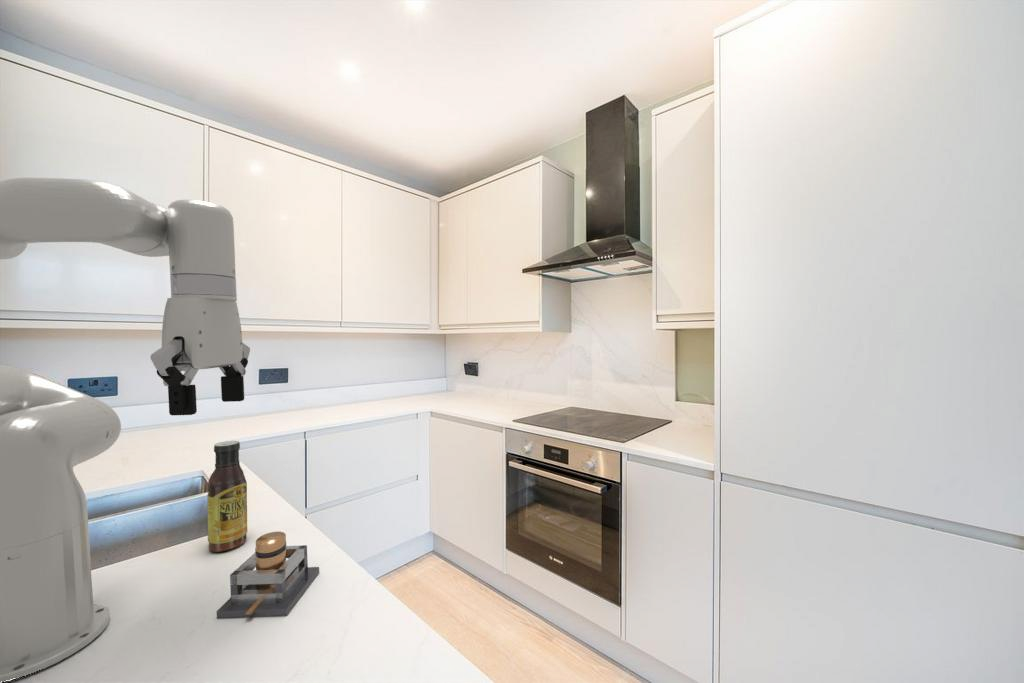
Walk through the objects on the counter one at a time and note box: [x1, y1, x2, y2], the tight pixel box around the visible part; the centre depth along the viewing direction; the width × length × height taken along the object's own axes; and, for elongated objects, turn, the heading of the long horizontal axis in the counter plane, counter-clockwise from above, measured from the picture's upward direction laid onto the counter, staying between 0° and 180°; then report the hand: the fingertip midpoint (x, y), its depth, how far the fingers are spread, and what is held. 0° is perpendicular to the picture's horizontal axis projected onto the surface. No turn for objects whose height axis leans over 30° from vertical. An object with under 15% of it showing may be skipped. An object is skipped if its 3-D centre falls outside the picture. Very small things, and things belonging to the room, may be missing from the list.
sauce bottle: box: [206, 440, 248, 553], centre depth 76 cm, size 7×6×20 cm
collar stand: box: [216, 544, 320, 619], centre depth 61 cm, size 10×11×6 cm
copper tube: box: [254, 531, 287, 590], centre depth 61 cm, size 4×4×8 cm
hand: (210, 407), depth 58 cm, fingers open, 9 cm apart
